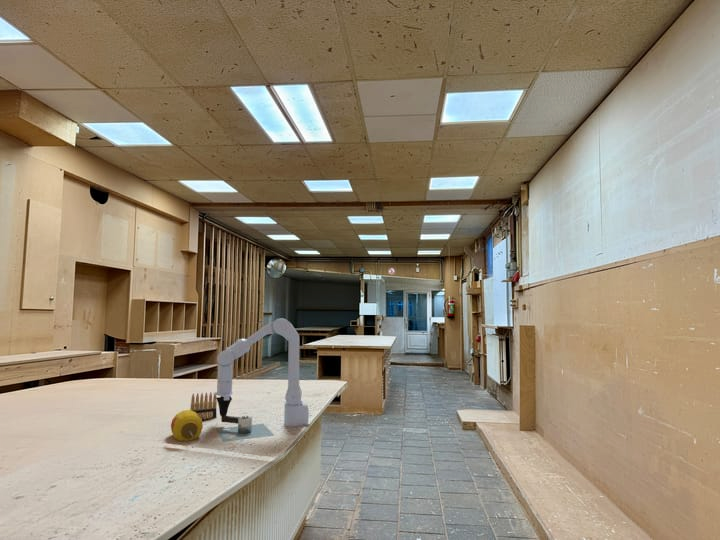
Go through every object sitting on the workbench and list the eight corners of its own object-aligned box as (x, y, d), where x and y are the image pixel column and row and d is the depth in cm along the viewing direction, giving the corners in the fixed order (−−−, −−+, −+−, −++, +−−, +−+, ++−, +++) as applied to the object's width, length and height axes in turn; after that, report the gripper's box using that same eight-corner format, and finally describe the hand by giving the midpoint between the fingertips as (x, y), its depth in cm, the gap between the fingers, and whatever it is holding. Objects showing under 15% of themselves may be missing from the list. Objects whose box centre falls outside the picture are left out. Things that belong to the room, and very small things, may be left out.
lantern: (172, 402, 157) (182, 419, 132) (198, 405, 162) (212, 422, 136) (164, 429, 155) (172, 451, 129) (190, 431, 160) (203, 454, 134)
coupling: (254, 430, 153) (254, 415, 154) (246, 433, 148) (247, 418, 149) (226, 427, 157) (226, 412, 158) (218, 430, 152) (218, 415, 153)
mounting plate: (263, 426, 163) (263, 423, 163) (274, 438, 147) (274, 434, 147) (216, 432, 155) (216, 428, 156) (222, 445, 139) (222, 441, 139)
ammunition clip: (189, 423, 168) (191, 394, 169) (189, 422, 169) (190, 393, 171) (216, 420, 173) (217, 391, 174) (215, 419, 174) (217, 391, 176)
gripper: (212, 378, 167) (210, 412, 165) (216, 384, 154) (214, 421, 153) (229, 378, 170) (228, 411, 169) (235, 383, 157) (234, 419, 156)
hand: (223, 415), depth 161 cm, fingers closed
